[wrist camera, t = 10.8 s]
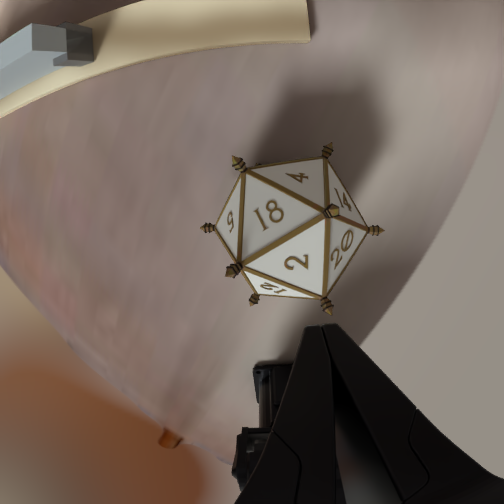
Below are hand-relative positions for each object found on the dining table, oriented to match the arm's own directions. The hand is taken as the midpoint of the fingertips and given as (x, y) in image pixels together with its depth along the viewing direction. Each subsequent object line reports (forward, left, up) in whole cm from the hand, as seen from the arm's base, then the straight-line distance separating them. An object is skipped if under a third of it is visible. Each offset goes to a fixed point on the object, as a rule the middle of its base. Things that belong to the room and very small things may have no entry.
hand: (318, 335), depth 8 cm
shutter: (+11, +17, -11) cm, 23 cm away
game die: (-1, 0, -13) cm, 13 cm away
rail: (+11, +11, -12) cm, 20 cm away
